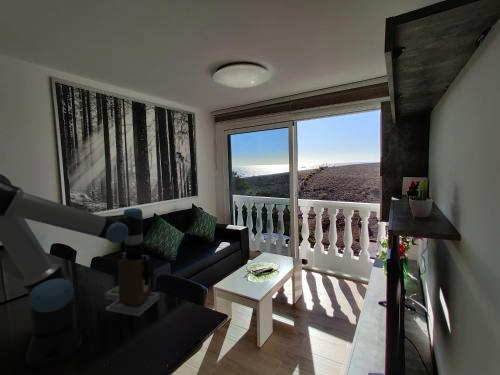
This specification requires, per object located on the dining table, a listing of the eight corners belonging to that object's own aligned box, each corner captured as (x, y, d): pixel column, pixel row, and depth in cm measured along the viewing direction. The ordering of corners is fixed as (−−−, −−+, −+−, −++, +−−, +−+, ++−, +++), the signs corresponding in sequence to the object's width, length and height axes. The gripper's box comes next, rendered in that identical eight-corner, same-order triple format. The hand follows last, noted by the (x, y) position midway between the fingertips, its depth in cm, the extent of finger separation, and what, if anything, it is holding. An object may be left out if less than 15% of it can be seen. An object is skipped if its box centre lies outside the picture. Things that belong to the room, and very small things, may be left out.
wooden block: (138, 306, 110) (137, 262, 109) (118, 304, 112) (117, 260, 111) (151, 295, 120) (150, 254, 118) (132, 293, 122) (132, 253, 120)
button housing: (119, 301, 118) (119, 295, 118) (105, 299, 120) (104, 293, 120) (131, 293, 126) (130, 287, 126) (117, 291, 128) (117, 285, 128)
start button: (118, 297, 121) (118, 290, 120) (111, 296, 122) (111, 289, 121) (124, 293, 125) (124, 286, 124) (117, 292, 126) (117, 285, 125)
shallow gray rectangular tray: (138, 316, 107) (138, 310, 107) (105, 310, 111) (105, 304, 111) (159, 298, 122) (159, 293, 122) (129, 293, 126) (129, 288, 126)
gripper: (160, 242, 115) (161, 289, 117) (119, 238, 120) (120, 283, 122) (150, 247, 107) (151, 297, 109) (106, 242, 113) (108, 290, 115)
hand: (135, 289), depth 116 cm, fingers closed on wooden block, 10 cm apart
